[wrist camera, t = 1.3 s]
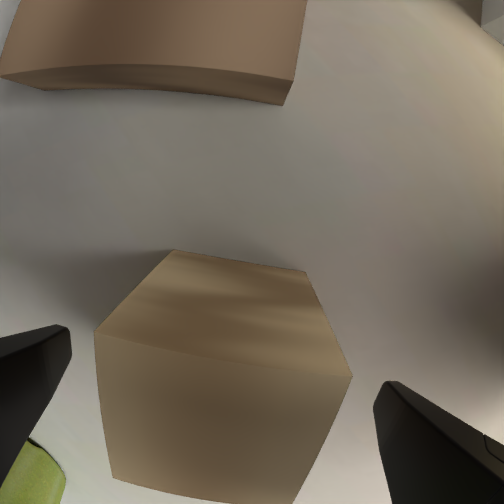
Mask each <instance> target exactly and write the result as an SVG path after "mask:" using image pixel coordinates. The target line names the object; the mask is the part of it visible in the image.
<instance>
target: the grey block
mask: <svg viewBox="0 0 504 504" xmlns="http://www.w3.org/2000/svg"><path fill="white" fill-rule="evenodd" d="M480 27H481V28H482V29H483V30H485V31H486V32H487V33H489V34H490V35H491V36H492V37H494V38H495V39H496V40H497V41H498V42H500V43H501V44H502V45H503V46H504V0H483V3H482V16H481V26H480Z"/></svg>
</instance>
